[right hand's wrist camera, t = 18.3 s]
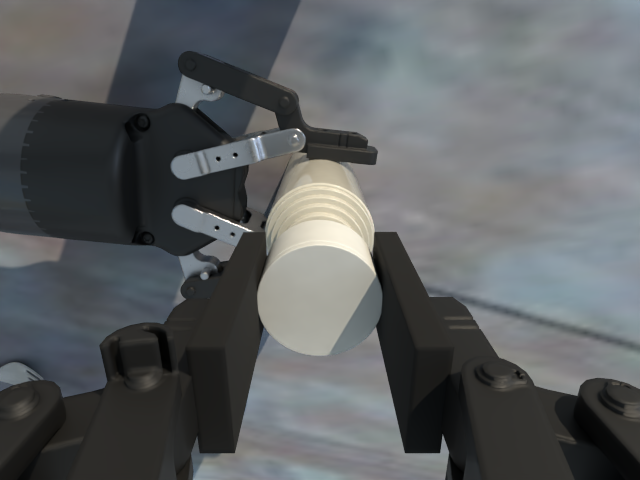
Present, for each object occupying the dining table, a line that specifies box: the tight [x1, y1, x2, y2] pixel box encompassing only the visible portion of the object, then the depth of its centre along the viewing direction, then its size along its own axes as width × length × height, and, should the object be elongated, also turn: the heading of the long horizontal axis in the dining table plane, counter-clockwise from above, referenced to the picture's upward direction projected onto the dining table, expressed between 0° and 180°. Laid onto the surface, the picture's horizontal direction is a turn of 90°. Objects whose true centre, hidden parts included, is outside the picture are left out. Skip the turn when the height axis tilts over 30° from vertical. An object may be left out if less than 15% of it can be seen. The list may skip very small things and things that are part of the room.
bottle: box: [265, 152, 375, 253], centre depth 21 cm, size 5×5×18 cm
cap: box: [257, 220, 383, 356], centre depth 13 cm, size 4×4×2 cm
